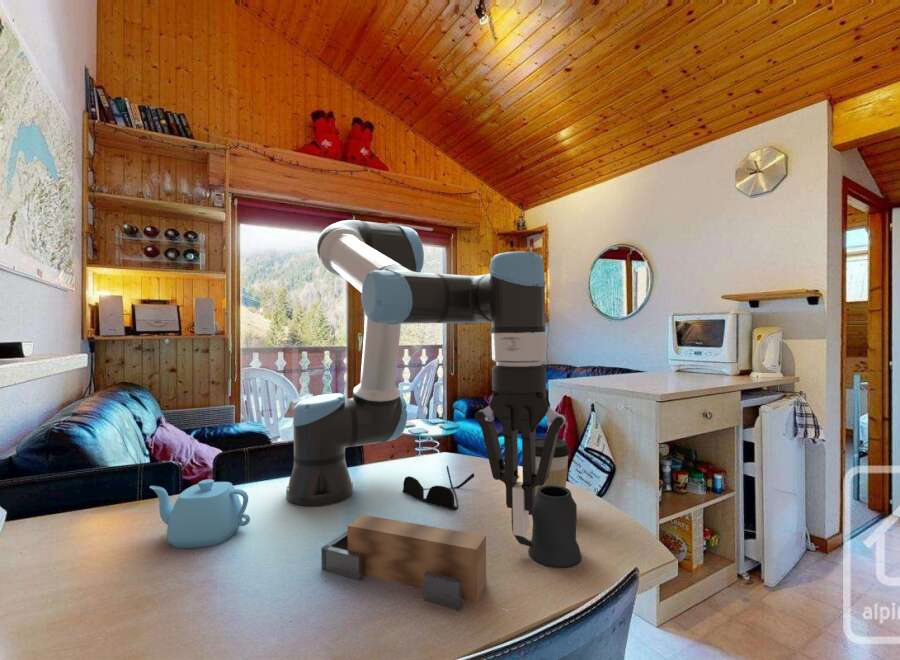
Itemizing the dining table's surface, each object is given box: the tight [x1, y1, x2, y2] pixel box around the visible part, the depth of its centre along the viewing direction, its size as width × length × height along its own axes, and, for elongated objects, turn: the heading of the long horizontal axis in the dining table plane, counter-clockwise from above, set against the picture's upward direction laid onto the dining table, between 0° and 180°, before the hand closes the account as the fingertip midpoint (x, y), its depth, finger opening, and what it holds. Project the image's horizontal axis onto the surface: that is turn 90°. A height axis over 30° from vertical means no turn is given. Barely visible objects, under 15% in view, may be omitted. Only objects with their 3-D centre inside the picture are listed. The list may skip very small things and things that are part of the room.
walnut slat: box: [347, 514, 487, 603], centre depth 70 cm, size 22×4×8 cm, turn 68°
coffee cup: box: [535, 436, 571, 496], centre depth 95 cm, size 10×10×15 cm
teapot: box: [149, 478, 251, 549], centre depth 85 cm, size 13×11×18 cm
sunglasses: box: [401, 465, 475, 511], centre depth 106 cm, size 17×14×5 cm
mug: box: [510, 485, 582, 569], centre depth 77 cm, size 12×9×11 cm
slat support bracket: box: [320, 530, 364, 582], centre depth 74 cm, size 8×9×4 cm
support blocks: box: [423, 572, 463, 612], centre depth 67 cm, size 6×9×4 cm, turn 155°
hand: (521, 531), depth 62 cm, fingers closed
